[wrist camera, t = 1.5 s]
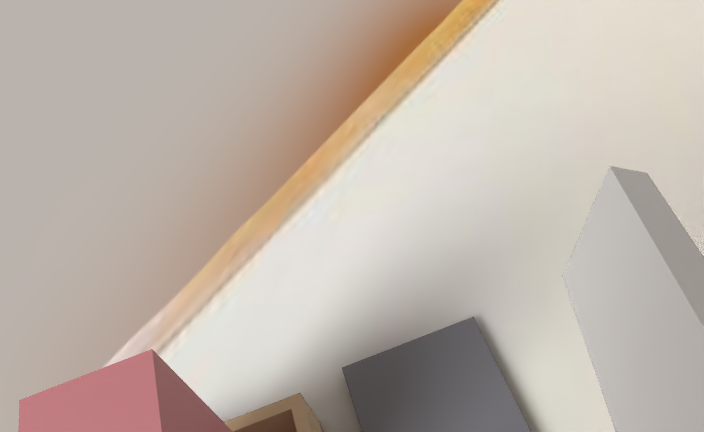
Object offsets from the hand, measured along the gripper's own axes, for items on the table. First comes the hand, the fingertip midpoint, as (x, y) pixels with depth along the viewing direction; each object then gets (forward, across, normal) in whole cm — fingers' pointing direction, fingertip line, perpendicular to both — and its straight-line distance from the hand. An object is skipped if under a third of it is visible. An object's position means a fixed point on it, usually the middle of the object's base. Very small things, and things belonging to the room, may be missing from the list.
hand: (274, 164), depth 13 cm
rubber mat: (+18, +12, -27) cm, 35 cm away
